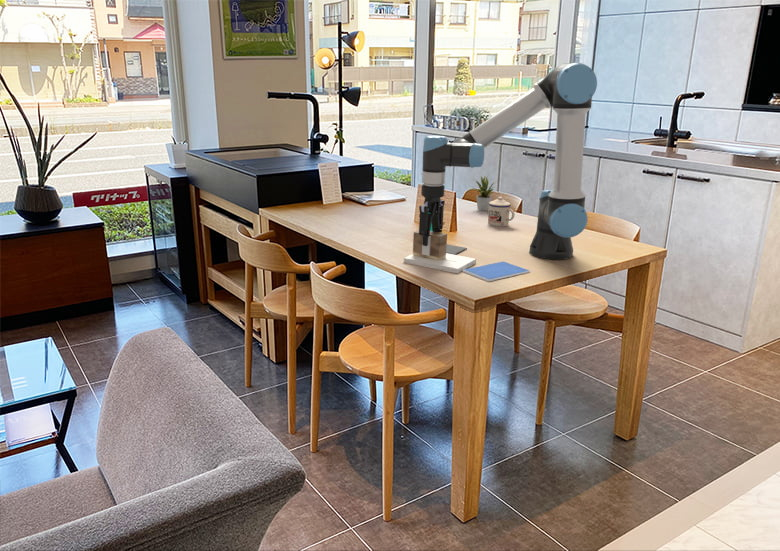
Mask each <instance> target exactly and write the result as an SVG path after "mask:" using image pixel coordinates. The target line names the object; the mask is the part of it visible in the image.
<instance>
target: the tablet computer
mask: <svg viewBox="0 0 780 551" xmlns="http://www.w3.org/2000/svg"><path fill="white" fill-rule="evenodd" d="M462 272H463V273H464V274H466V275H469V276H471V277H475V278H477V279H480V280H482V281H485V282H488V283H489V282H494V281H498V280H502V279H507V277H508V278H511V277H516V276H520V275H526V274H529V273H531V270H529V269H526V268H523V267H520V266H518V265H515V264H513V263H509V262H506V261H499V262H494V263H489V264H484V265H480V266H474V267H470V268H469V267H468V268H466V269H464V270H463V271H462Z"/></svg>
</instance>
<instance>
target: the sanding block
mask: <svg viewBox="0 0 780 551" xmlns="http://www.w3.org/2000/svg"><path fill="white" fill-rule="evenodd" d="M429 236H431V243H430V255H429V256H428V255H423V254H422V238H423V236H421V235H419V229H418V230H416V231H413V243H412V254H413V255H416V256H420V257H425V258H430V259H435V260H440V259H442V258H444V257H446V246H447V244H448V243H447V242H448V233H444V232H434V231H430V235H429Z"/></svg>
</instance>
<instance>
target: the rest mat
mask: <svg viewBox="0 0 780 551" xmlns="http://www.w3.org/2000/svg"><path fill="white" fill-rule="evenodd" d="M467 250H468V248H467V247H464V246H458V245H453V244H449V243H447V246H446V253H448V254H453V255H458V254H460V253H463V252H465V251H467Z"/></svg>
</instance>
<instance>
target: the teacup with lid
mask: <svg viewBox="0 0 780 551" xmlns="http://www.w3.org/2000/svg"><path fill="white" fill-rule="evenodd" d="M510 213H511V217H510ZM487 216H488V217H487V224H488V225H490V226H493V227H506V226H508V225H509V223H510V221H512V220H514V218H515V211H514V210H513V209H512V208H511V203H510V202H508V201H507V200H505V199H504V198H503V197H502V196H498V197H497V198H496V199H494V200H491V202H489V210H488V215H487Z"/></svg>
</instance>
